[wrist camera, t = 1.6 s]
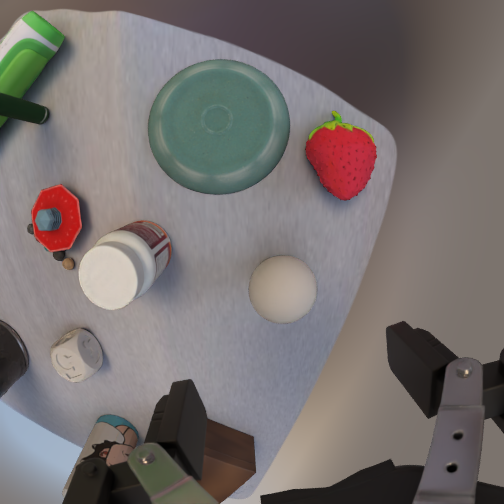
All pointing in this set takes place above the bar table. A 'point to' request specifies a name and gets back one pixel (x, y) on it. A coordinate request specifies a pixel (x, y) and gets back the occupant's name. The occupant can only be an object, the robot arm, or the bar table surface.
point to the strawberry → (341, 157)
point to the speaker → (26, 54)
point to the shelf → (226, 460)
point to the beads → (56, 253)
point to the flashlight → (22, 109)
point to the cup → (108, 443)
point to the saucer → (218, 127)
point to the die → (76, 355)
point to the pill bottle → (124, 264)
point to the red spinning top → (56, 218)
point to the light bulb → (282, 289)
